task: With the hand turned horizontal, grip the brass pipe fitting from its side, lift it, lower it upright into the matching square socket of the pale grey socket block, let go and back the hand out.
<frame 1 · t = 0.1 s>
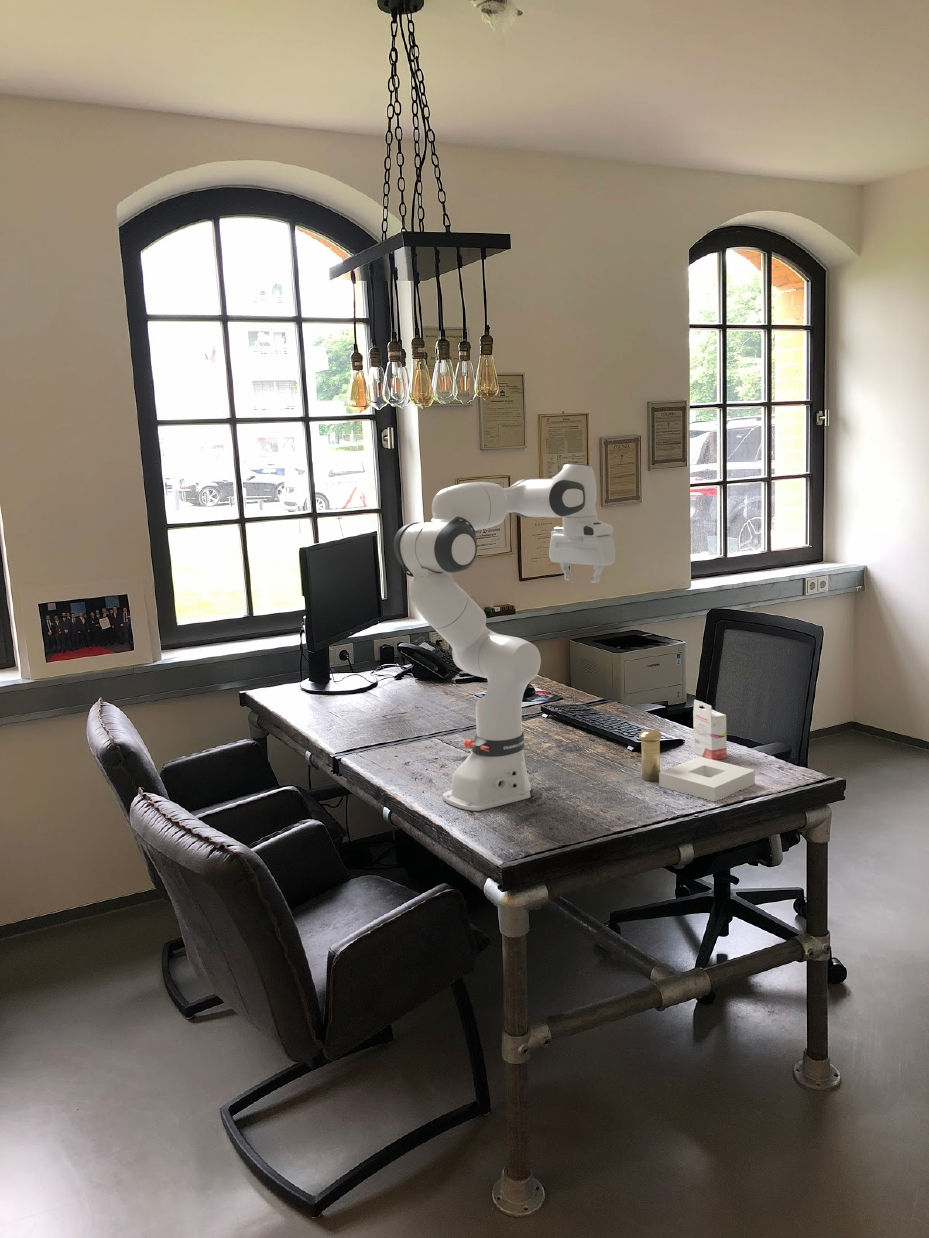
hand: (582, 581, 253), 48 cm above the table, tool pointing down, fingers open, 8 cm apart
ink cartridge box: (710, 756, 259), on the table
brass fitting: (651, 778, 244), on the table
socket block: (706, 785, 237), on the table
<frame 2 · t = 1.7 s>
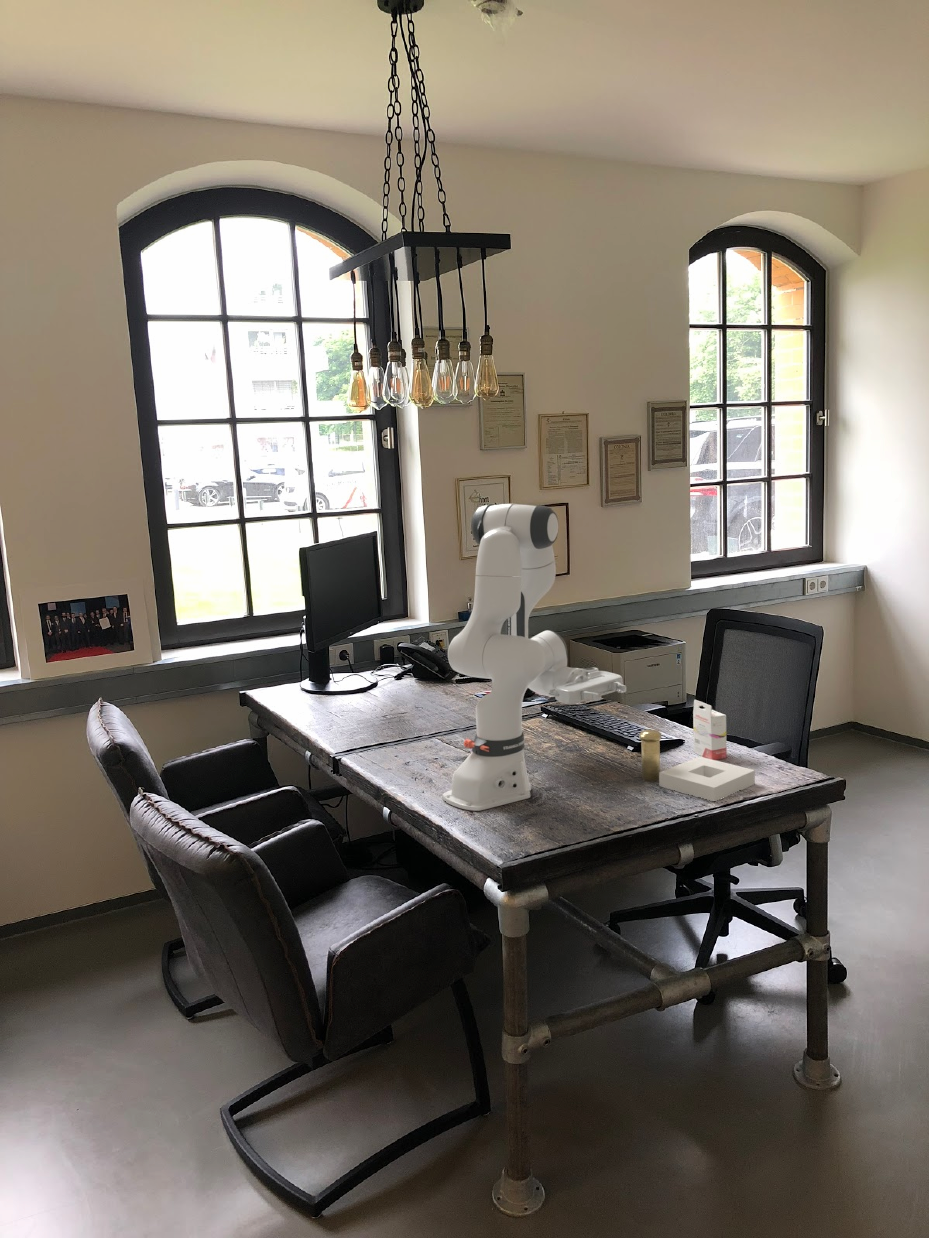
hand: (612, 693, 250), 20 cm above the table, tool horizontal, fingers open, 8 cm apart
nothing on the table moved.
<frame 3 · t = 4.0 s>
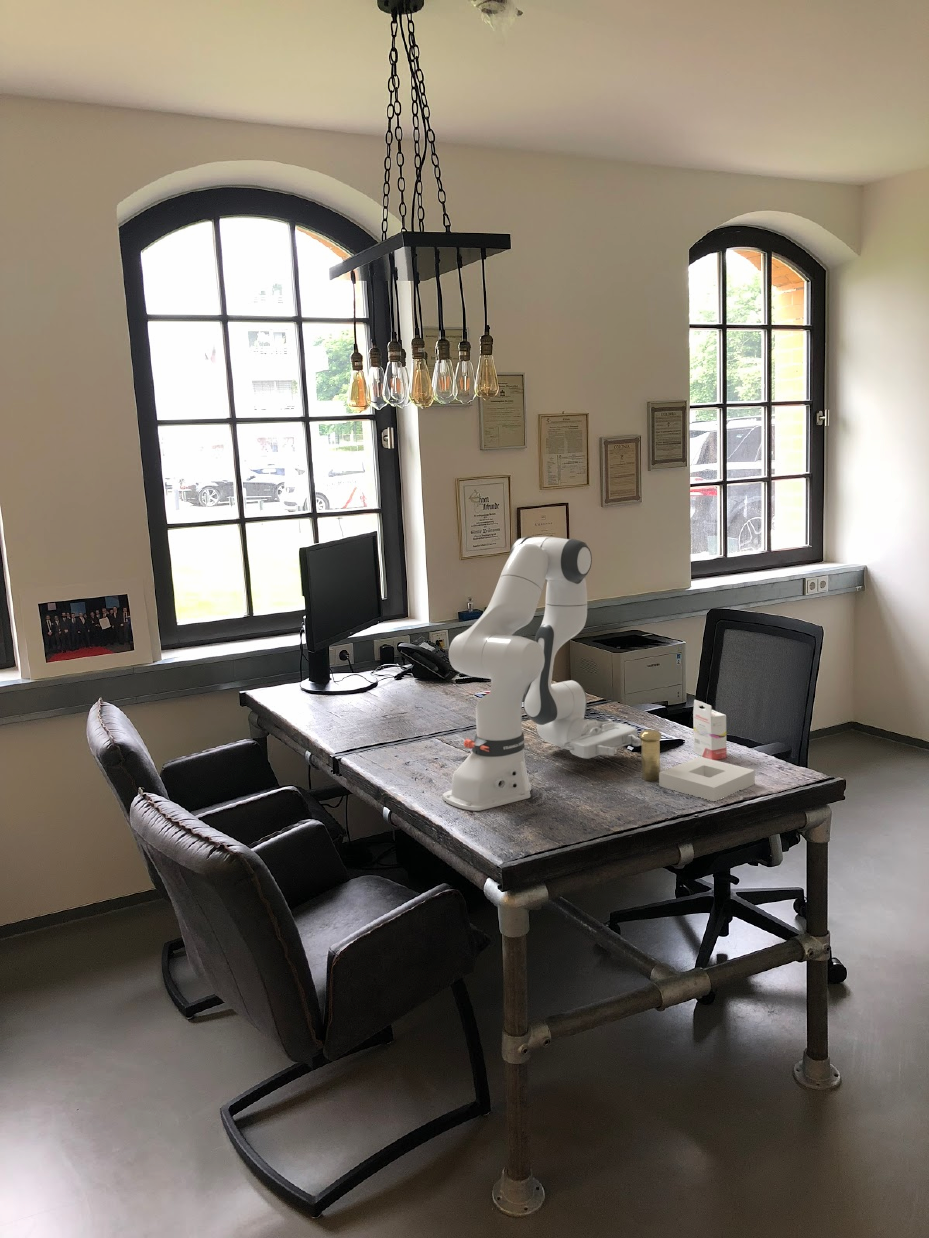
hand: (627, 747, 248), 6 cm above the table, tool horizontal, fingers open, 8 cm apart
nothing on the table moved.
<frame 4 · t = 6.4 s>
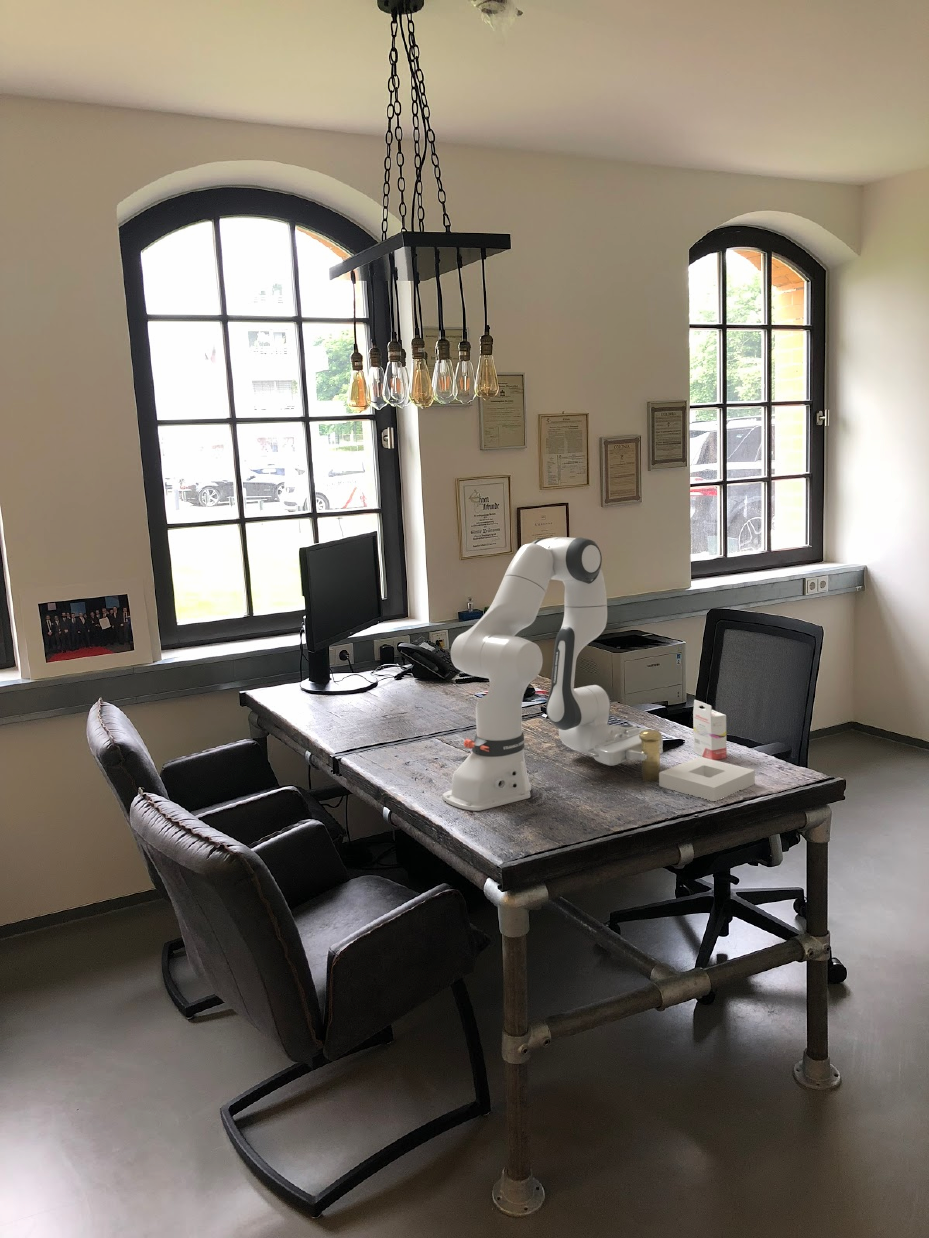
hand: (653, 753, 242), 7 cm above the table, tool horizontal, fingers closed on brass fitting, 4 cm apart
brass fitting: (651, 778, 244), on the table, touching gripper
everything else where it was.
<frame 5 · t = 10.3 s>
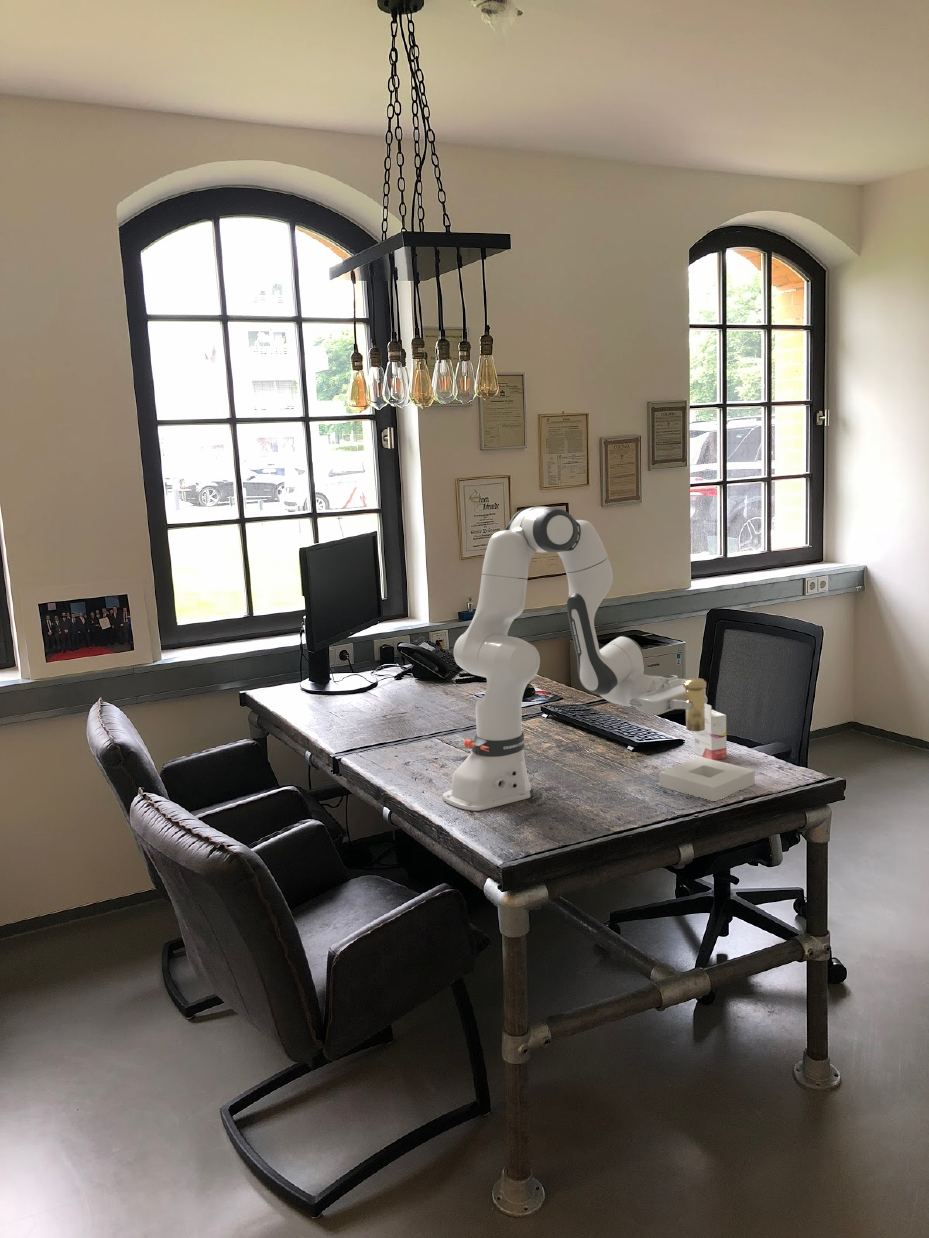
hand: (698, 702, 235), 20 cm above the table, tool horizontal, fingers closed on brass fitting, 4 cm apart
brass fitting: (695, 728, 237), point 14 cm above the table, touching gripper
everything else where it was.
when the fingers open (8 cm above the table, at t = 14.3 s): brass fitting drops 1 cm, resting in socket block.
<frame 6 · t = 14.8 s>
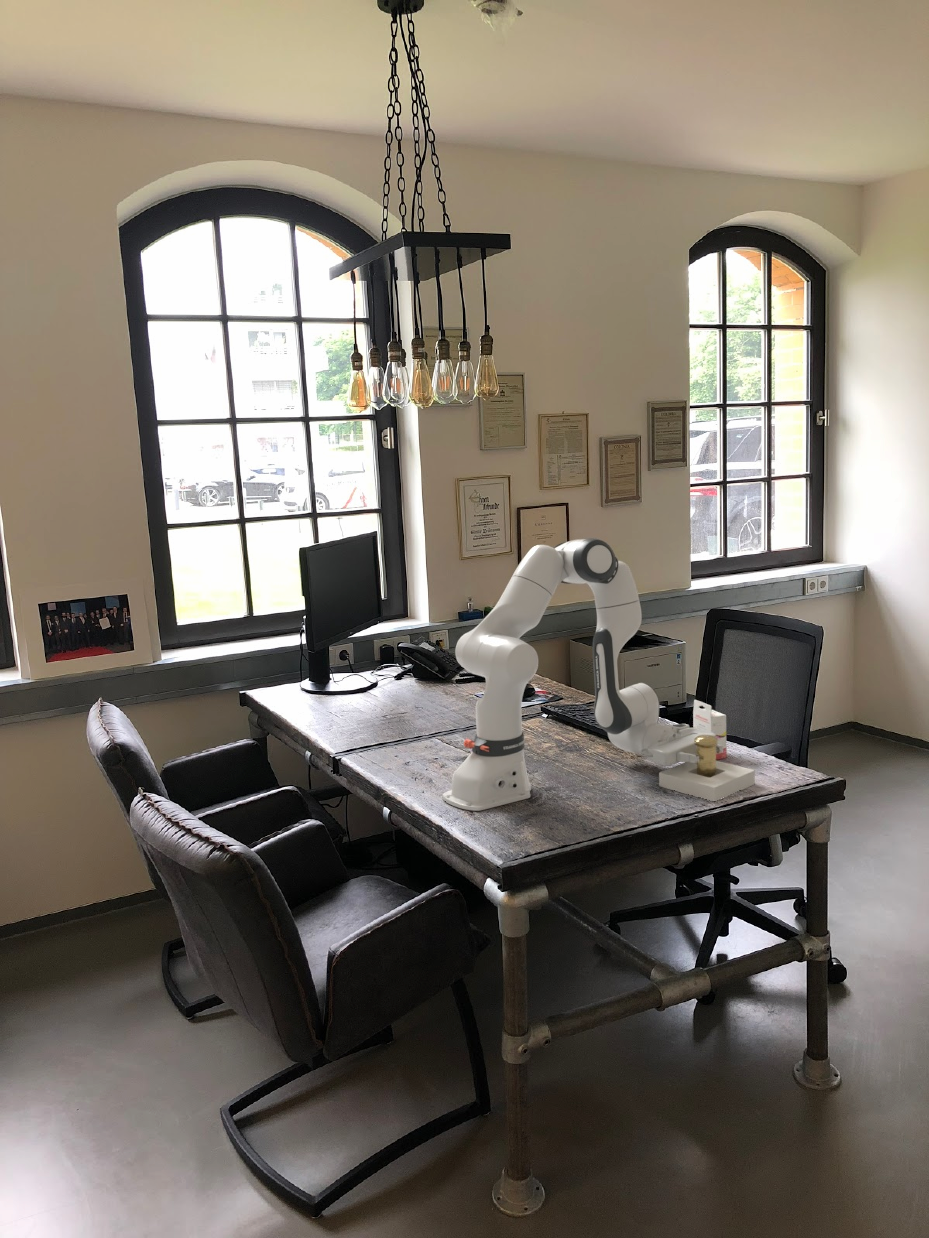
hand: (709, 754, 235), 8 cm above the table, tool horizontal, fingers open, 8 cm apart
brass fitting: (706, 785, 237), resting in socket block
everything else where it was.
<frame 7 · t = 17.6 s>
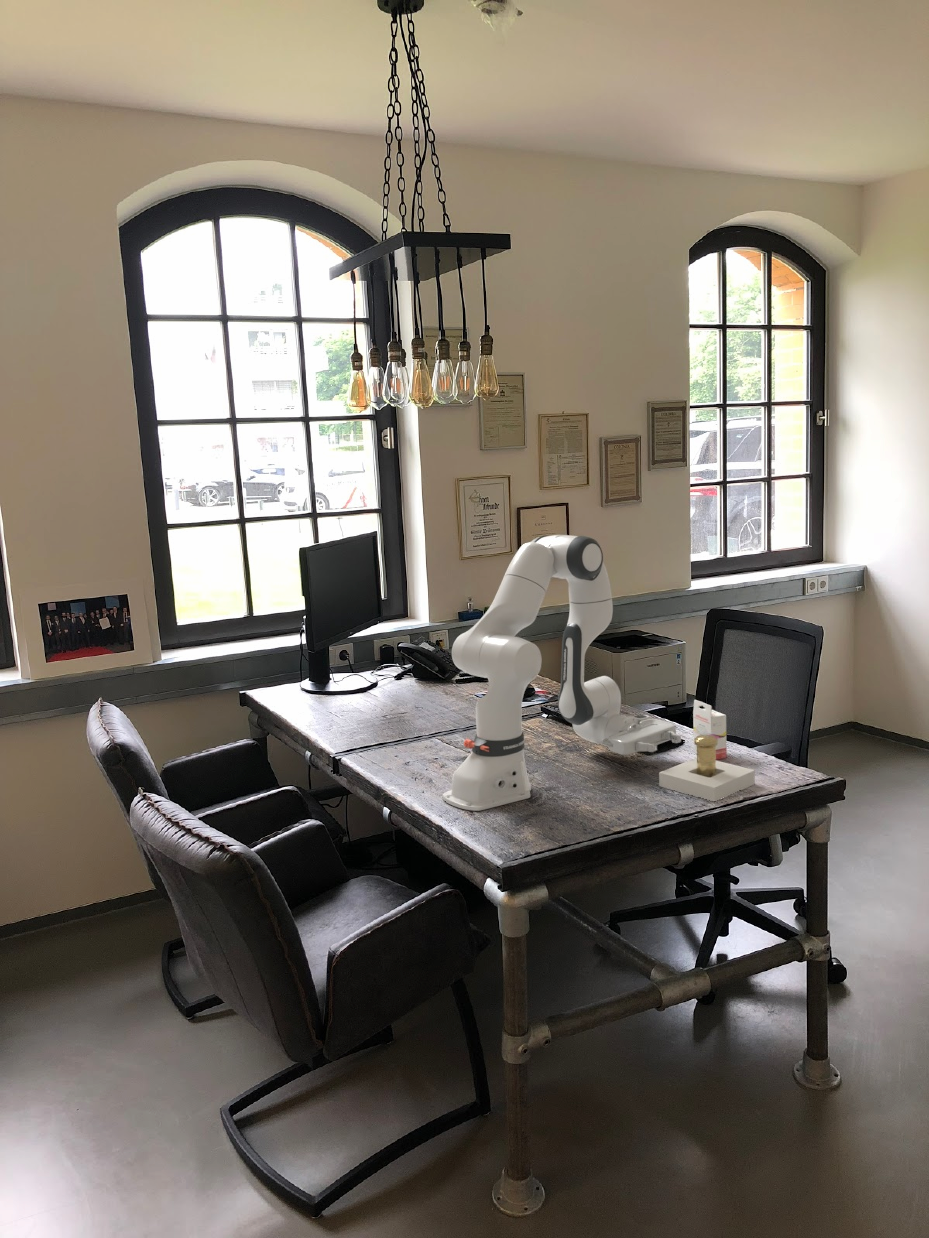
hand: (667, 743, 245), 8 cm above the table, tool horizontal, fingers open, 8 cm apart
nothing on the table moved.
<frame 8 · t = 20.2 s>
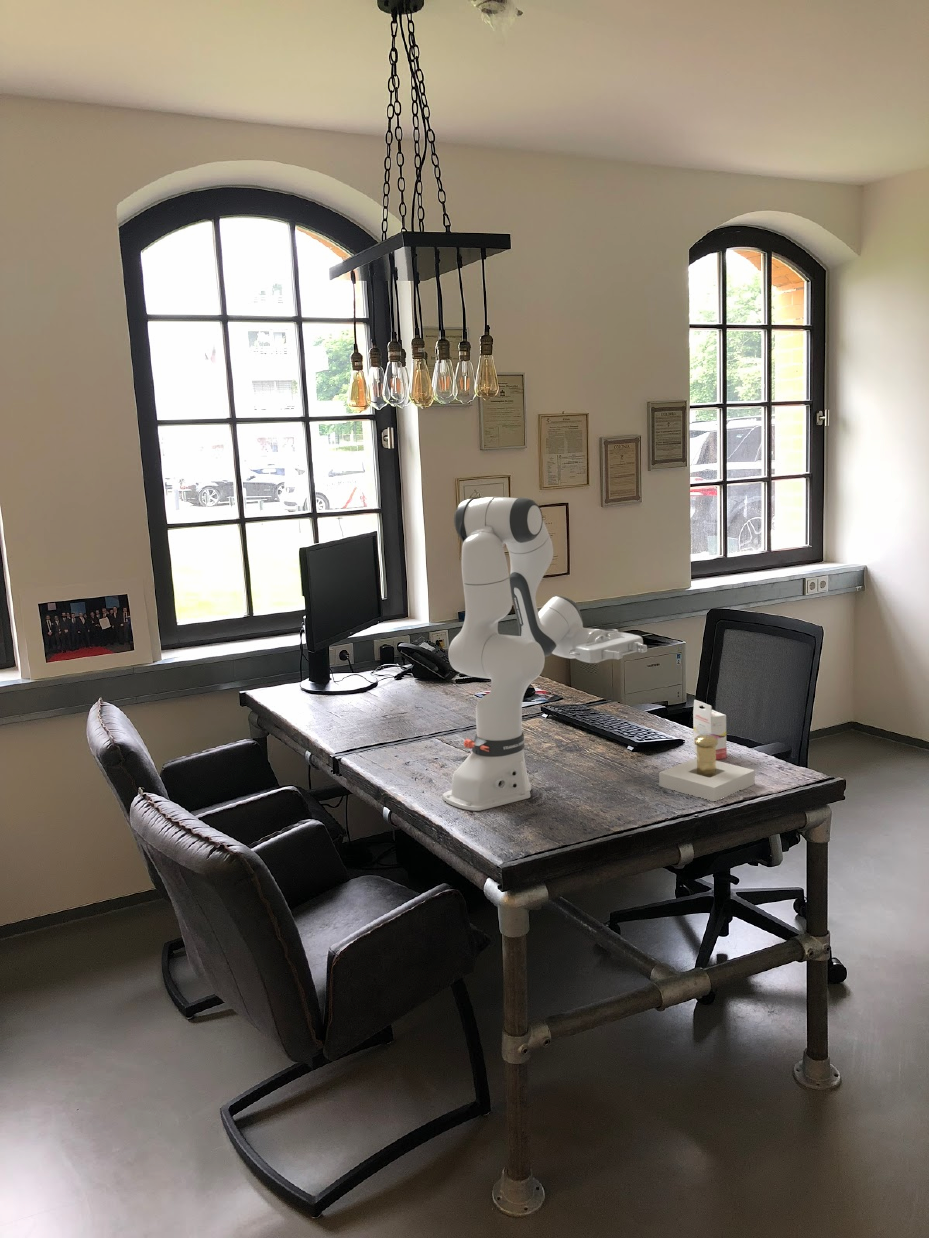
hand: (633, 652, 249), 30 cm above the table, tool horizontal, fingers open, 8 cm apart
nothing on the table moved.
at the end: brass fitting 0.1 cm off-centre on the socket block, point 0.0 cm above the socket block's base; brass fitting tilted 0°; the gripper is holding nothing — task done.
